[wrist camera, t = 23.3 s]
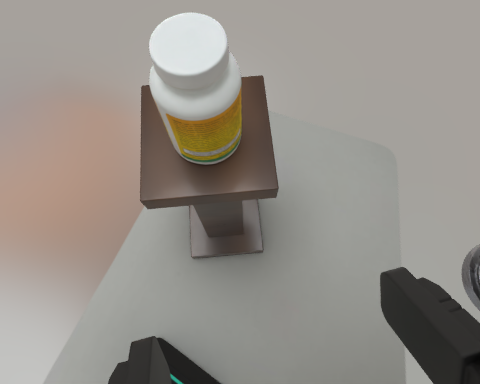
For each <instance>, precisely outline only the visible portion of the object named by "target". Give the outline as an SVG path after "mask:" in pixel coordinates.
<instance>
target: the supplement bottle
mask: <svg viewBox="0 0 480 384" xmlns="http://www.w3.org/2000/svg"><path fill="white" fill-rule="evenodd" d="M149 52H150V56H151V59H152V61H153V65H152V68H151V71H150V77H149V84H150V90H151V93H152V96H153V99H154V101H155V104H156V106H157V108H158V111H159V113H160V115H161V118H162V120H163V122H164V125H165V127H166V130H167V132H168V135H169V137H170V140H171V142H172V144H173V146H174V148H175V150H176V151H177V152H178V153H179V154H180V155H181V156H182V157H183V158H185V159H186V160H188V161H190V162H193V163H197V164H205V165H207V164H215V163H218V162H221V161H223V160H225V159H227V158H228V157H229V156H230V155H232V154H233V153H234V152H235V150H236V149H237V147H238V145H239V143H240V139H241V132H242V111H241V109H242V105H241V88H242V87H241V86H242V82H241V74H240V69H239V66H238V63H237V62H236V60H235V58H234V56H233V55H232V54H231V53H230V52H229V50H228V41H227V36H226V33H225V31H224V29H223V27H222V26H221V25H220V24H219V23H218V22H217V21H216V20H214V19H213V18H211V17H209V16H207V15H204V14H199V13H181V14H178V15H175V16H172V17H170V18H168V19H166V20H164V21H163V22H162V23H160V24H159V25H158V26H157V27H156V29H155V30H154V32H153V33H152V35H151V38H150V42H149Z"/></svg>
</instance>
